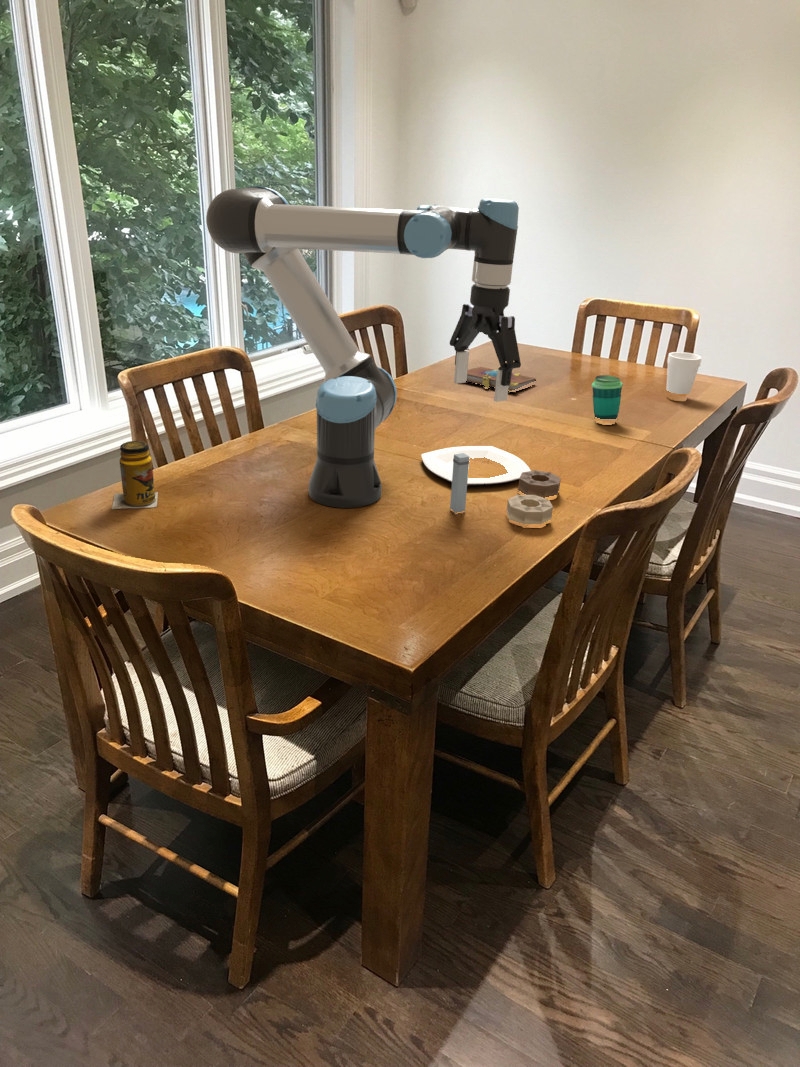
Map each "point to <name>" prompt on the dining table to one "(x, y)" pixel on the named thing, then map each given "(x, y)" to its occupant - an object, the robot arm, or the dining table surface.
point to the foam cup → (682, 371)
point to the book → (490, 376)
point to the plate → (443, 458)
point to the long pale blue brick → (459, 482)
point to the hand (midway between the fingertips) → (479, 391)
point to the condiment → (136, 477)
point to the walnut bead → (539, 483)
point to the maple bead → (529, 509)
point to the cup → (606, 396)
